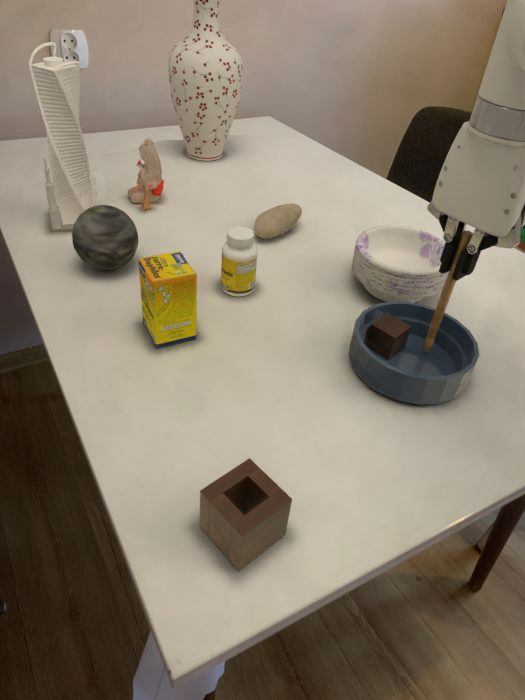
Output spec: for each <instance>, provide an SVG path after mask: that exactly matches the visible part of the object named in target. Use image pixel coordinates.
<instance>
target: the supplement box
mask: <svg viewBox="0 0 525 700" xmlns="http://www.w3.org/2000/svg"><path fill="white" fill-rule="evenodd" d="M137 263H138V274H139V287H140V298H141V299H140V300H141V314H142V324H143V326H144V327H145V329H146V331H147V333H148V334H149V337H150V338H151V340H152V342H153V345H154V347H155V348H156V349H157V350H158V349H162V348H165V347H170V346H173V345H178V344H181V343H186V342H190V341H193V340H197V302H198V301H197V298H198V297H197V295H198V294H197V293H198V290H197V289H198V284H197V283H198V273H197V272H196V271H195V270H194V269H193V268H192V267H191V265H190V263H189V261H187V259H186V257H185V255H184V254H183V253H182V252H181V251H180V250H177V251H173V252H167V253H162V254H156V255H149V256H144V257H143V256H142V257H139V258H138V259H137Z"/></svg>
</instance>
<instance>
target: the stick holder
mask: <svg viewBox="0 0 525 700" xmlns="http://www.w3.org/2000/svg"><path fill="white" fill-rule="evenodd" d="M292 503H293V498H292V497H291V496H290V495H289V494H287V492H286V491H284V489H282V488H281V486H279V485H278V484H277V483H276V482H275V481H274V480H273V479H272V477H270V476H269V475H268V474H267V473H266V472H265V471H264V470H263V469H262V468H260V467H259V465H257V464H256V463H255V462H254V461H253V459H251V458H247V459H246V460H244V461H243V462H241V463H240V464H238V465H237V466H235V467H234V468H232V469H231V470H229V471H228V472H226V473H225V474H223V475H221V476H220V477H218V478H217V479H215V480H214V481H212V482H211V483H209V484H208V485H206V486H205V487H203V488H201V489H200V491H199V528H200V529H201V530H202V531H203V532H204V533H205V534H206V536H207V537H208V538H209V539H210V541H212V543H213V544H214V545H215V546H216V547H217V549H218V550H220V552H221V553H222V554H223V555H224V557H225V558H226V559H227V560H228V561H229V562H230V563H231V564H232V566H233V567H234V568H235V569H236V570H237V571H238V572H240V571H241V570H243V569H244V568H246V566H248V565H249V564H250V563H252V562H253V561H254V560H255V559H256V558H258V557H259V556H261V555H262V554H263V553H264V552H266V551H267V550H268V549H269V548H271V546H273V545H274V544H275V543H277V542H278V541H279V540H280V539H281V538H283V537H284V536H286V532H287V527H288V523H289V519H290V518H289V517H290V512H291V509H292Z"/></svg>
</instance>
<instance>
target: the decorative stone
mask: <svg viewBox="0 0 525 700" xmlns="http://www.w3.org/2000/svg"><path fill="white" fill-rule="evenodd" d="M71 240H72V246H73V249H74V251H75V252H76V254H77V256H78V257H79V259H81V261H83V263H85V264H87V265H88V266H89V267H92V268H94V269H96V270H100V271H112V270H113V271H114V270H117V269H120V268H122V267H124V266H126V265H127V264H128V263H129V262H130V261H131V260H132V259H133V258H134V256H135V254H136V252H137V250H138V246H139V233H138V230H137V227H136V224H135V222H134V220H133V218H131V216H129V215H128V214H127V213H126V212H125V211H124V210H122V209H120V208H119V207H116V206H113V205H110V204H97V205H92V207H91V208H88V209H87V210H85V211H84V212H82V213H81V214H80V215H79V217H78V218H77V220H76V221H75V223H74V226H73V229H72V231H71Z"/></svg>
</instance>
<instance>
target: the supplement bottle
mask: <svg viewBox="0 0 525 700" xmlns="http://www.w3.org/2000/svg"><path fill="white" fill-rule="evenodd" d="M254 241H255V231H254V230H252V229H251V228H249V227H246V226H243V225H242V226H239V225H237V226H232V227H230V228H229V229H228V230H227V232H226V242H225V243H224V244H223V245H222V246H221V247H222V248H221V264H220V265H221V267H220V269H221V270H220V287H221V290H222V291H223V292H224V293H225V294H227V295H229V296H231V297H245V296H248V295H250V294H252V293H253V292H254V291H255V288H256V278H257V277H256V276H257V262H258V247H257V246H256V244H255V243H254Z"/></svg>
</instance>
